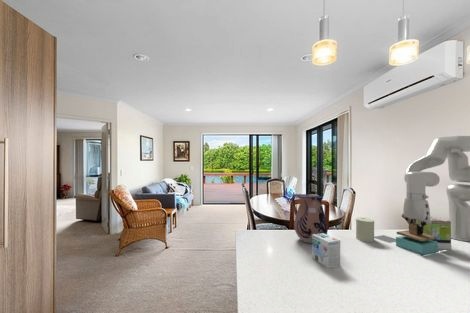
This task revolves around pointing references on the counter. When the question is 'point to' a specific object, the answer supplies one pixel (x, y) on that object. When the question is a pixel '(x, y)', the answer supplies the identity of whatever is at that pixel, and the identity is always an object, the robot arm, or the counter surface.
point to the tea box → (439, 231)
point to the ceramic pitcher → (309, 216)
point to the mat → (385, 238)
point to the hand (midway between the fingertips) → (416, 232)
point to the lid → (416, 233)
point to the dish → (417, 245)
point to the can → (365, 229)
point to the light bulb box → (326, 250)
